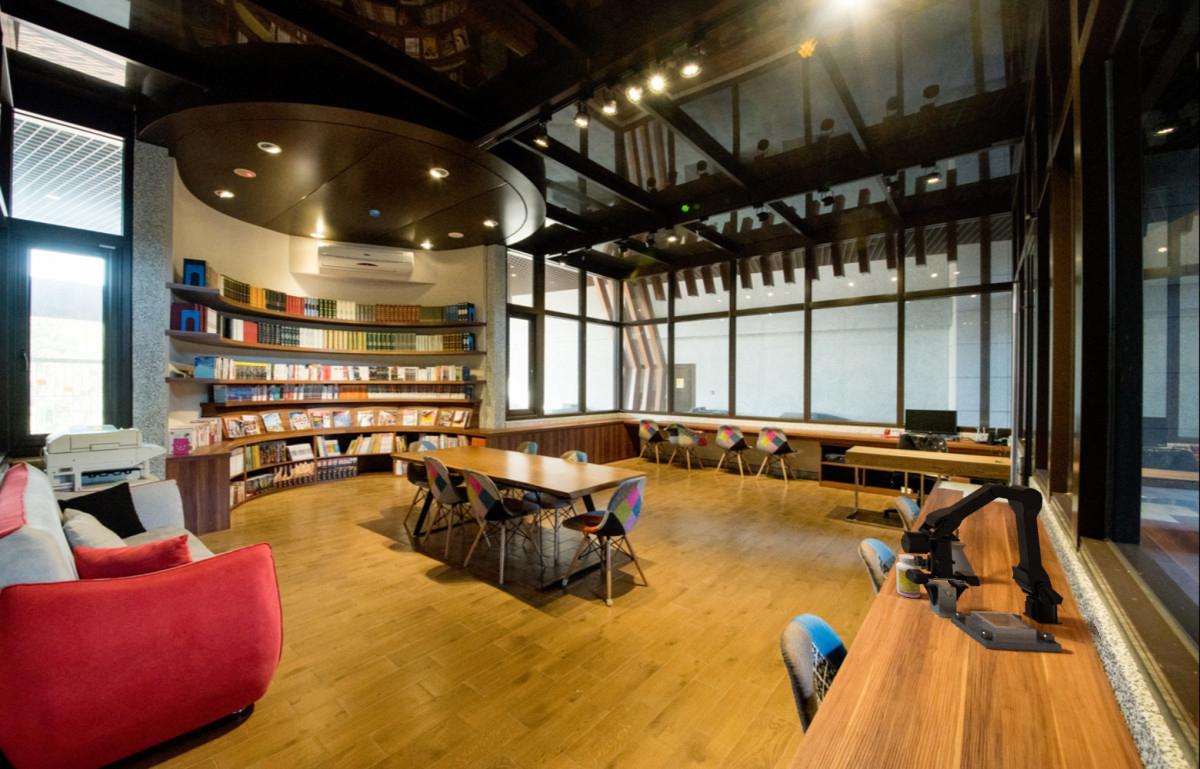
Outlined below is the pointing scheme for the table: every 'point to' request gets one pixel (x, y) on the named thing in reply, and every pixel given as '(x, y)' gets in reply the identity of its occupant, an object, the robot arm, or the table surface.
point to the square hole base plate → (1004, 632)
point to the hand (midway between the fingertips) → (942, 605)
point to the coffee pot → (960, 556)
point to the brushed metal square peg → (944, 599)
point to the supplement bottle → (904, 584)
